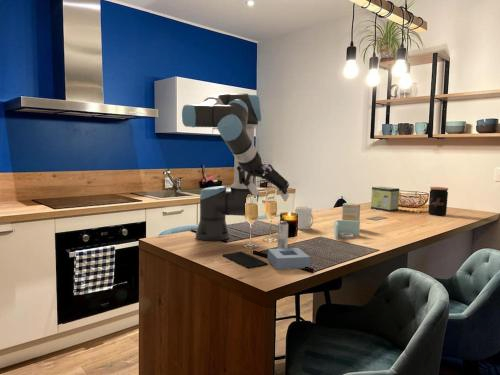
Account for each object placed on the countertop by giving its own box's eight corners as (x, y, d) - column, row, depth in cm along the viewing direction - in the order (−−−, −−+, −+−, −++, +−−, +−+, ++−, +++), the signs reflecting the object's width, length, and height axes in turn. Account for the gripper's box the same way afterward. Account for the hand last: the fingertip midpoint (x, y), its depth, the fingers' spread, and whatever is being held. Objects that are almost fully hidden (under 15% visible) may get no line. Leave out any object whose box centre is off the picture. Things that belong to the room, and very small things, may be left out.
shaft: (278, 255, 150) (279, 222, 149) (275, 252, 154) (276, 220, 153) (288, 254, 151) (289, 222, 150) (285, 251, 155) (286, 220, 154)
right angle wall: (335, 240, 178) (336, 224, 178) (333, 234, 190) (334, 219, 189) (362, 242, 177) (363, 226, 176) (358, 236, 188) (359, 221, 188)
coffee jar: (425, 214, 253) (427, 187, 251) (432, 212, 260) (434, 186, 258) (442, 216, 245) (444, 189, 243) (448, 215, 252) (450, 188, 250)
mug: (306, 231, 193) (306, 210, 192) (291, 227, 203) (291, 207, 202) (318, 230, 197) (319, 209, 196) (303, 225, 207) (304, 206, 206)
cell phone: (241, 253, 152) (241, 251, 152) (268, 265, 138) (268, 263, 137) (221, 256, 147) (221, 254, 147) (248, 270, 133) (248, 267, 132)
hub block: (276, 269, 132) (277, 258, 132) (267, 259, 144) (267, 249, 144) (309, 267, 135) (309, 256, 135) (297, 258, 147) (298, 247, 146)
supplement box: (359, 228, 203) (360, 204, 202) (356, 230, 199) (357, 205, 198) (344, 226, 208) (345, 202, 207) (341, 227, 204) (342, 203, 203)
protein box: (378, 207, 277) (380, 186, 276) (398, 210, 265) (400, 188, 264) (370, 208, 271) (371, 186, 269) (390, 212, 259) (391, 189, 257)
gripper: (214, 162, 135) (240, 200, 148) (272, 165, 120) (296, 208, 133) (224, 147, 139) (249, 186, 152) (282, 149, 123) (304, 192, 137)
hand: (271, 196), depth 142 cm, fingers open, 13 cm apart
